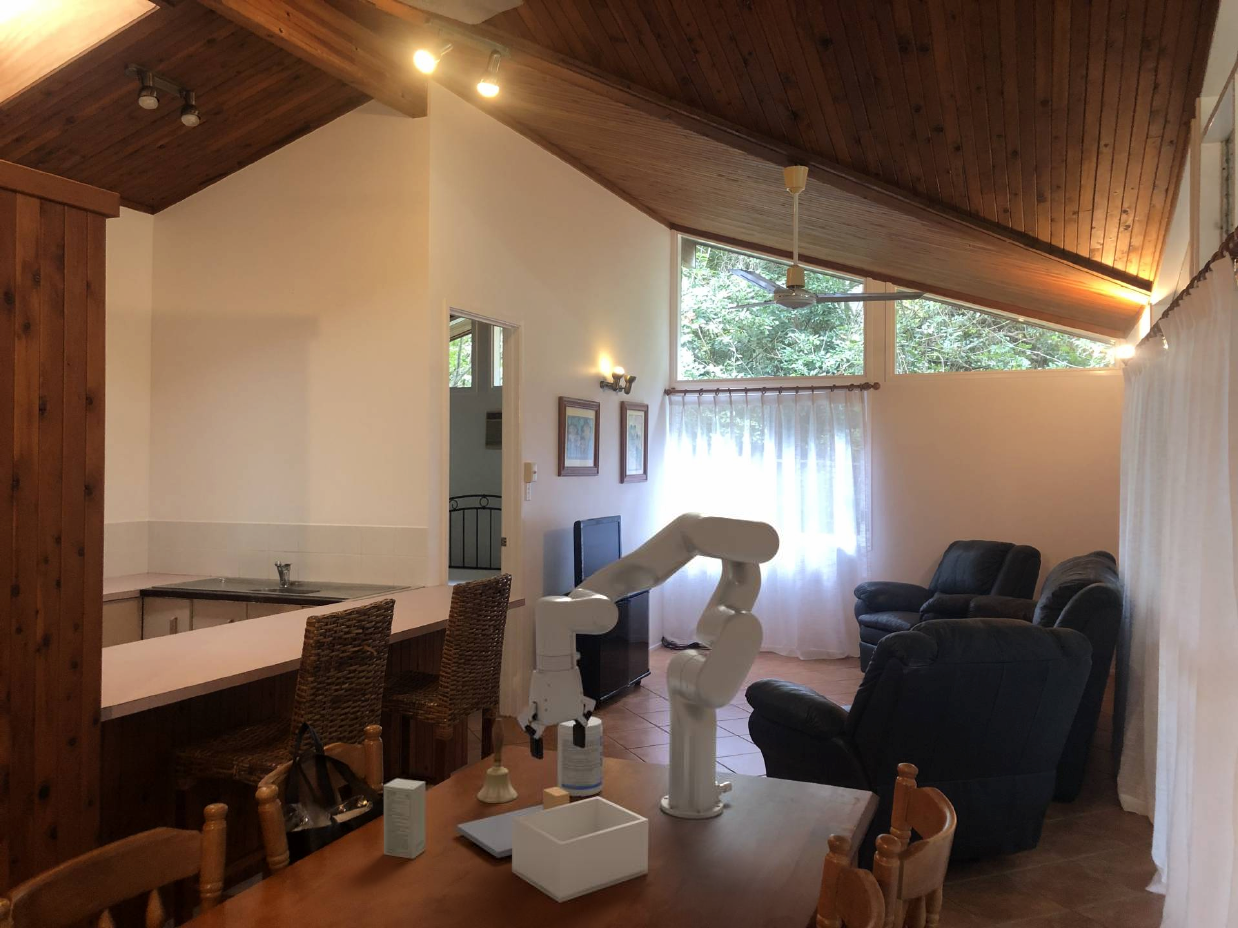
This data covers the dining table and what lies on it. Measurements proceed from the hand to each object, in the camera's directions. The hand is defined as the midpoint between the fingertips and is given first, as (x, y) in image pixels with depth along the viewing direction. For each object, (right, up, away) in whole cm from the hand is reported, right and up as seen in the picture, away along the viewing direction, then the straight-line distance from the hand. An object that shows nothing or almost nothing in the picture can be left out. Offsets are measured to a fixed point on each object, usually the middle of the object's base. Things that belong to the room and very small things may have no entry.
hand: (558, 751), depth 174 cm
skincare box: (-26, -14, -13) cm, 32 cm away
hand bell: (-14, -15, +16) cm, 26 cm away
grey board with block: (-6, -14, -5) cm, 17 cm away
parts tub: (+5, -14, -20) cm, 25 cm away
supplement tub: (+3, -15, +21) cm, 26 cm away
